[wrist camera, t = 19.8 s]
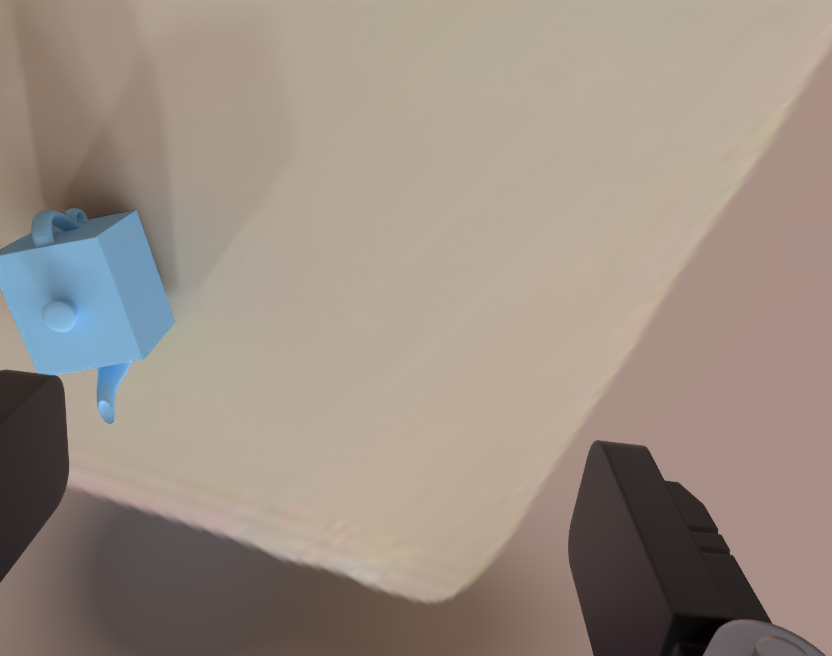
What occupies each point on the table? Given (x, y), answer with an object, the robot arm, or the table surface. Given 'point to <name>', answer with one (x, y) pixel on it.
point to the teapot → (86, 296)
